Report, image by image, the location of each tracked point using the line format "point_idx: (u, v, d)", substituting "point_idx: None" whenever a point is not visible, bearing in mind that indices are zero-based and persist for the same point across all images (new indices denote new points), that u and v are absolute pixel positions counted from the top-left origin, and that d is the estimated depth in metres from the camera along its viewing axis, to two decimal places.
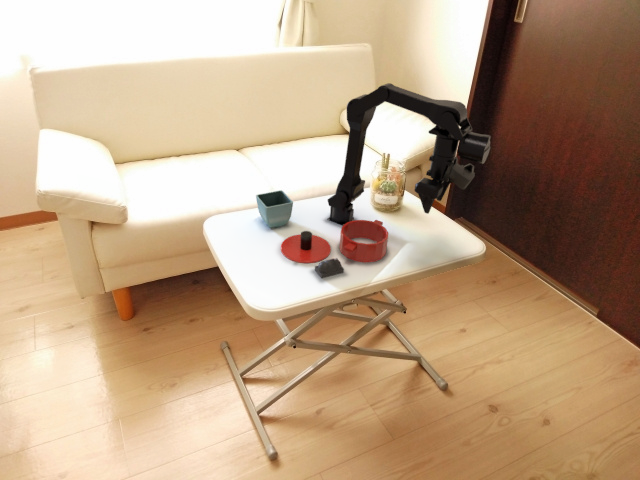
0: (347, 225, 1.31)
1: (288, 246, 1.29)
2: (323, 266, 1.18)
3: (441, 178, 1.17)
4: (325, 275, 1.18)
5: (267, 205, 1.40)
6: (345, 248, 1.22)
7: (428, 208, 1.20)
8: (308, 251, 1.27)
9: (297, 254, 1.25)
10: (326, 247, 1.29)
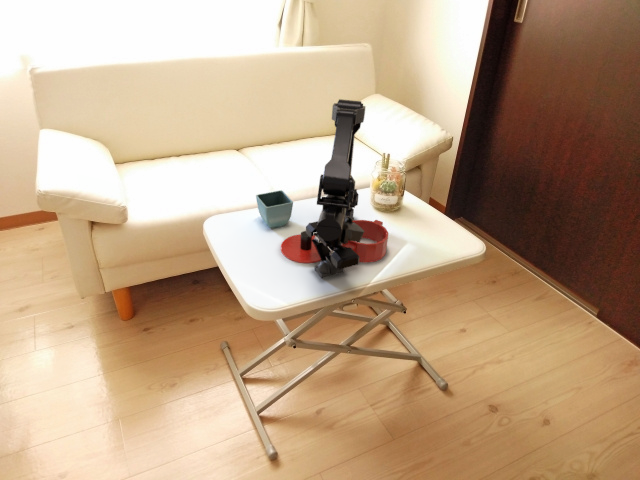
0: None
1: (288, 246, 1.29)
2: (323, 266, 1.18)
3: (341, 242, 1.14)
4: (325, 275, 1.18)
5: (267, 205, 1.40)
6: None
7: (336, 269, 1.17)
8: (308, 251, 1.27)
9: (297, 254, 1.25)
10: None
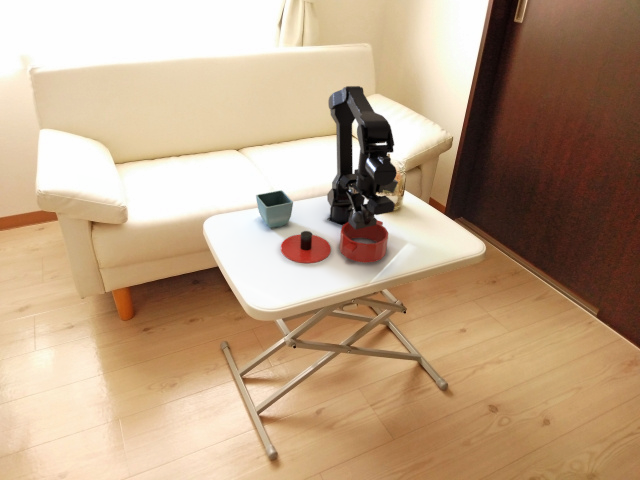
0: (347, 225, 1.31)
1: (288, 246, 1.29)
2: (357, 216, 1.21)
3: (376, 191, 1.18)
4: (359, 224, 1.22)
5: (267, 205, 1.40)
6: (345, 248, 1.22)
7: (370, 219, 1.21)
8: (308, 251, 1.27)
9: (297, 254, 1.25)
10: (326, 247, 1.29)
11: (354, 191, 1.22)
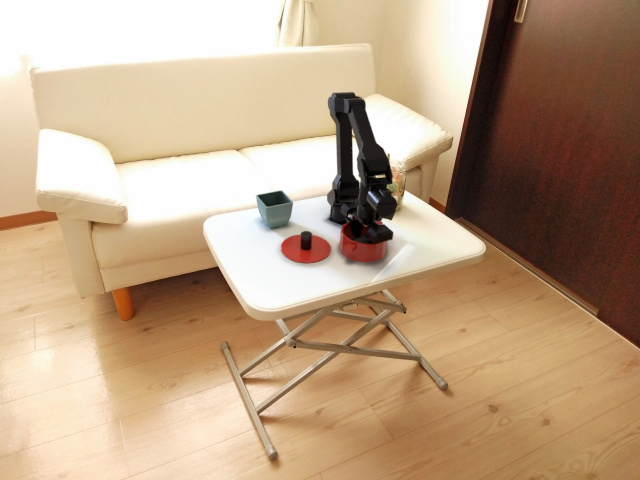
0: (347, 225, 1.31)
1: (288, 246, 1.29)
2: (358, 242, 1.27)
3: (375, 220, 1.24)
4: None
5: (267, 205, 1.40)
6: (345, 248, 1.22)
7: None
8: (308, 251, 1.27)
9: (297, 254, 1.25)
10: (326, 247, 1.29)
11: (353, 217, 1.28)
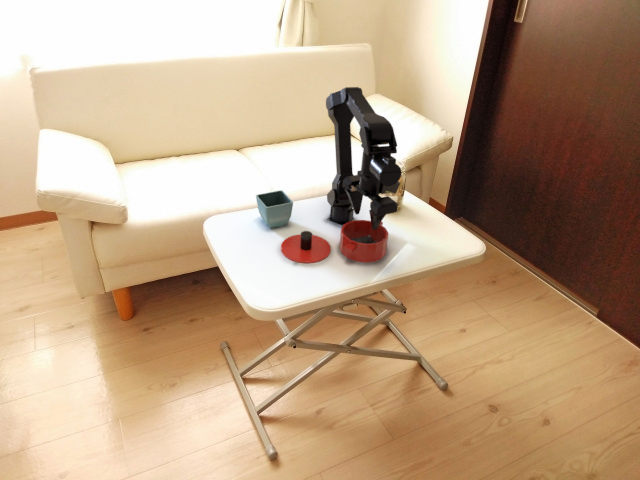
0: (347, 225, 1.31)
1: (288, 246, 1.29)
2: (358, 242, 1.27)
3: (379, 192, 1.19)
4: None
5: (267, 205, 1.40)
6: (345, 248, 1.22)
7: (378, 224, 1.21)
8: (308, 251, 1.27)
9: (297, 254, 1.25)
10: (326, 247, 1.29)
11: (352, 188, 1.25)
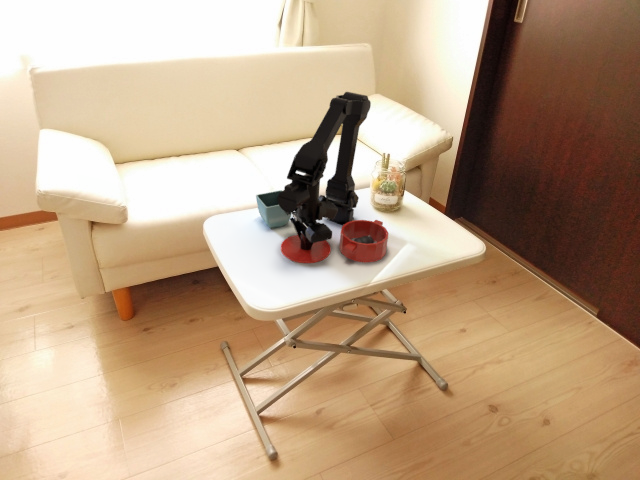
0: (347, 225, 1.31)
1: (288, 246, 1.29)
2: (358, 242, 1.27)
3: (315, 219, 1.22)
4: None
5: (267, 205, 1.40)
6: (345, 248, 1.22)
7: (311, 244, 1.26)
8: (308, 251, 1.27)
9: (297, 254, 1.25)
10: (326, 247, 1.29)
11: (297, 218, 1.26)
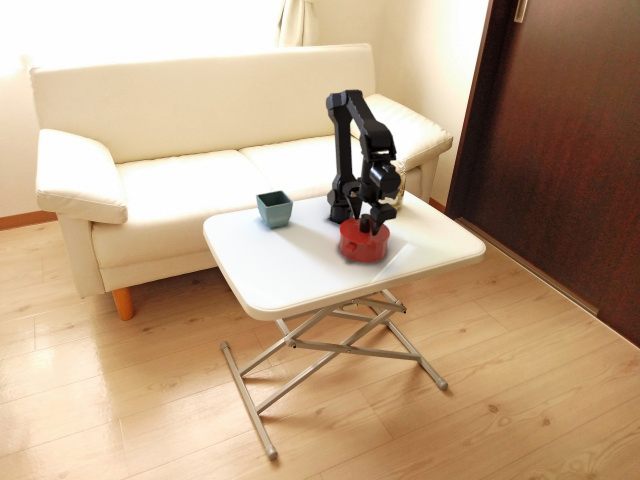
0: None
1: (347, 229, 1.27)
2: None
3: (378, 199, 1.20)
4: None
5: (267, 205, 1.40)
6: (345, 248, 1.22)
7: (378, 230, 1.22)
8: (368, 234, 1.25)
9: (357, 237, 1.24)
10: (385, 230, 1.28)
11: (352, 194, 1.26)
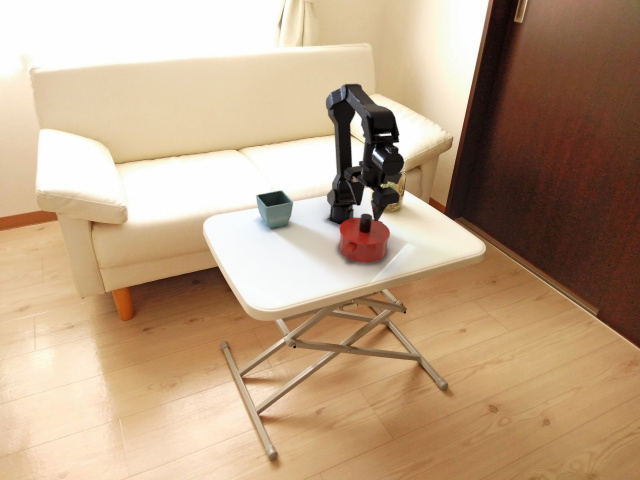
0: None
1: (347, 229, 1.27)
2: None
3: (380, 183, 1.18)
4: None
5: (267, 205, 1.40)
6: (345, 248, 1.22)
7: (380, 215, 1.19)
8: (368, 234, 1.25)
9: (357, 237, 1.24)
10: (385, 230, 1.28)
11: (354, 179, 1.23)
